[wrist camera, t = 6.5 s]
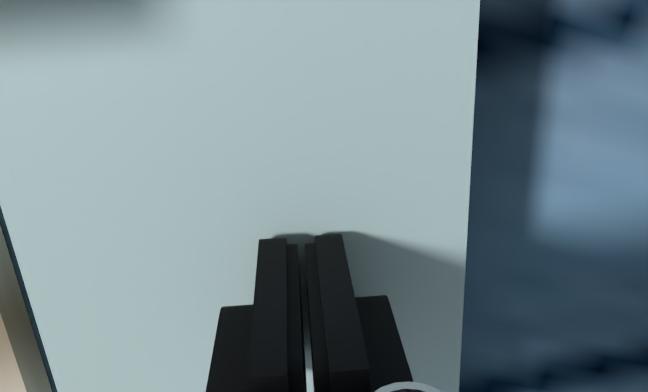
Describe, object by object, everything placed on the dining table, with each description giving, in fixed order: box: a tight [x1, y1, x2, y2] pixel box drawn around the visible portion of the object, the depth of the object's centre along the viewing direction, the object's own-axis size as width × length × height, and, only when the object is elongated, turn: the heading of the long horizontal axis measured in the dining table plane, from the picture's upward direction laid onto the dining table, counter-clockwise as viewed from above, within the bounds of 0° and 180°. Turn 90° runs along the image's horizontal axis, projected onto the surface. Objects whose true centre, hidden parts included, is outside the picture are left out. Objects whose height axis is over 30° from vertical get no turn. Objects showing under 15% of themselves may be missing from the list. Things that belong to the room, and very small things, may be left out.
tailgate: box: [0, 0, 480, 392], centre depth 12 cm, size 16×1×9 cm
